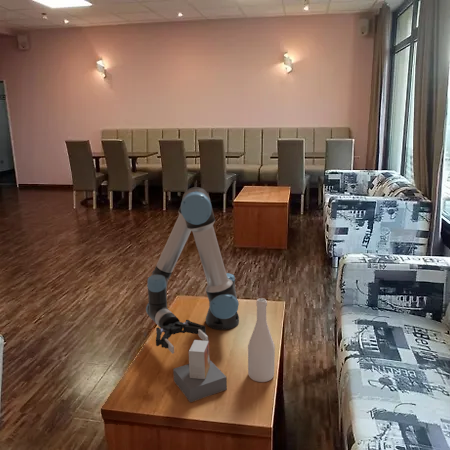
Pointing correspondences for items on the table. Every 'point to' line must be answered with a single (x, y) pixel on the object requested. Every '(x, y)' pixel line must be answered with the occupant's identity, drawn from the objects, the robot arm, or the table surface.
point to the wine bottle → (261, 347)
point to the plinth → (200, 382)
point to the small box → (199, 359)
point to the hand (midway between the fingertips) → (190, 344)
